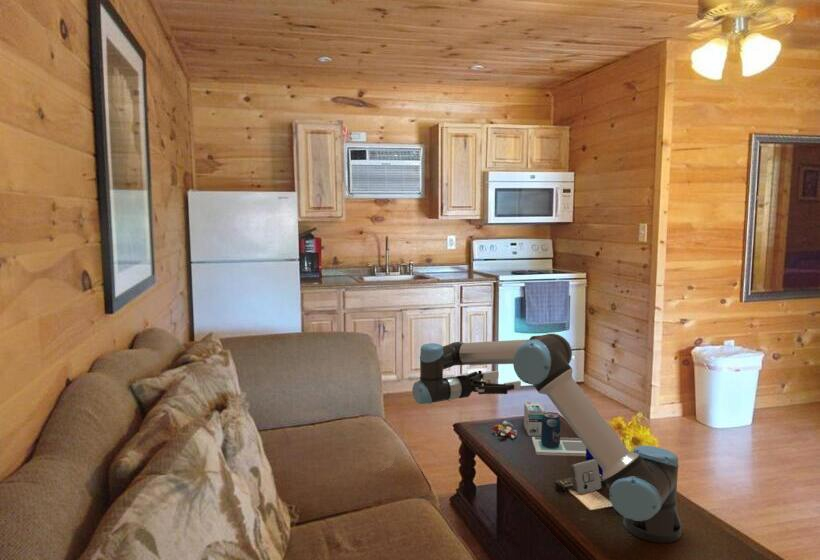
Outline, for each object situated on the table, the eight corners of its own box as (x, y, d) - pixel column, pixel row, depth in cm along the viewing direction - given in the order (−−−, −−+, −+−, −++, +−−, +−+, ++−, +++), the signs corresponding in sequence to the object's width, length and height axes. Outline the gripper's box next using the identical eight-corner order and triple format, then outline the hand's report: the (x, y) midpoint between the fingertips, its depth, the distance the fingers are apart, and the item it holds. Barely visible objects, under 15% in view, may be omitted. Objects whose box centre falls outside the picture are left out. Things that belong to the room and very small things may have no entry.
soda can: (557, 450, 210) (557, 419, 209) (538, 446, 213) (539, 416, 212) (562, 443, 216) (562, 413, 214) (544, 440, 219) (544, 410, 218)
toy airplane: (491, 433, 230) (491, 418, 229) (511, 431, 232) (511, 416, 231) (500, 442, 221) (500, 426, 220) (521, 440, 223) (521, 424, 222)
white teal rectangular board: (591, 456, 208) (591, 453, 207) (536, 454, 209) (536, 451, 209) (583, 441, 221) (583, 438, 221) (531, 439, 223) (531, 436, 223)
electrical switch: (579, 495, 179) (578, 466, 179) (568, 490, 184) (567, 461, 184) (602, 489, 183) (601, 461, 183) (590, 484, 188) (589, 456, 188)
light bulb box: (545, 436, 227) (545, 410, 225) (528, 436, 227) (528, 410, 225) (539, 426, 237) (540, 401, 236) (523, 426, 237) (523, 401, 236)
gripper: (439, 387, 204) (489, 380, 213) (475, 409, 182) (529, 400, 191) (439, 367, 203) (489, 360, 212) (476, 386, 181) (530, 378, 190)
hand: (508, 379), depth 201 cm, fingers open, 13 cm apart
